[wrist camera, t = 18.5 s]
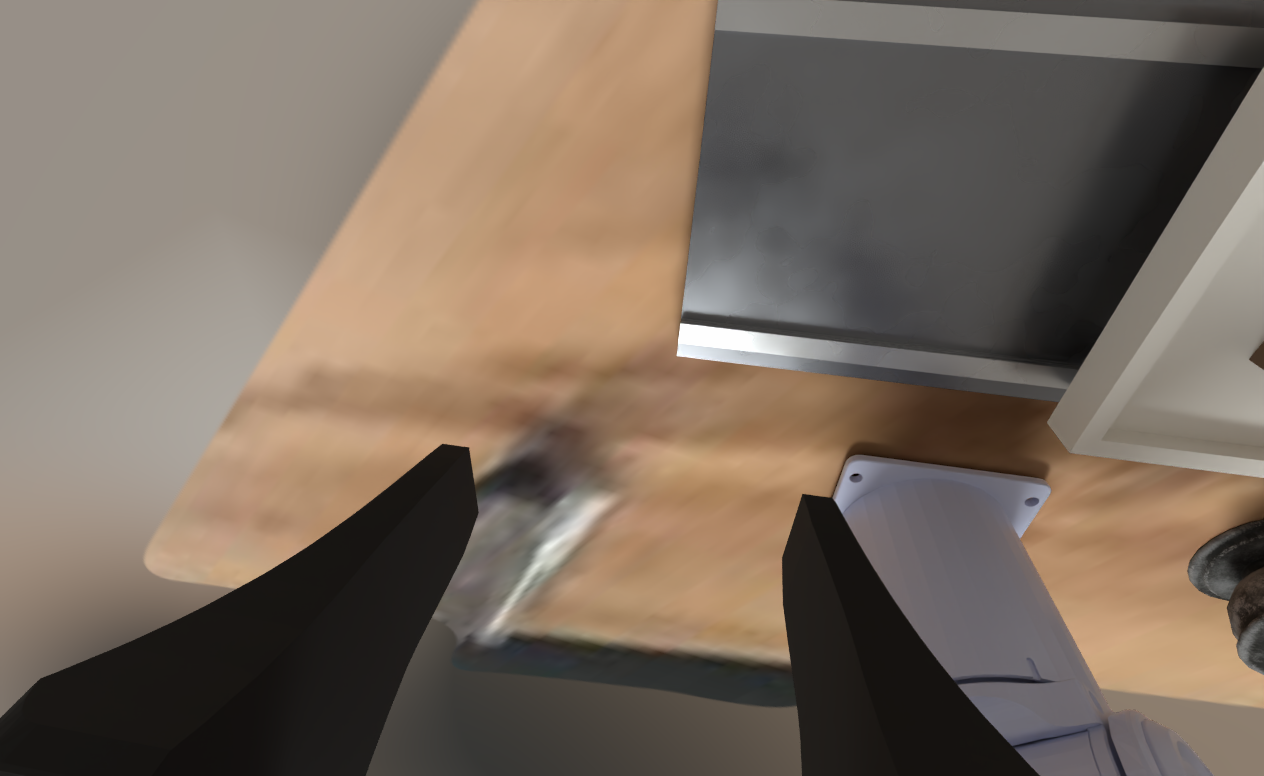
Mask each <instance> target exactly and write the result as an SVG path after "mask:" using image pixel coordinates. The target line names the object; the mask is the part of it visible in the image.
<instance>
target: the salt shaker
mask: <svg viewBox="0 0 1264 776" xmlns="http://www.w3.org/2000/svg"><path fill="white" fill-rule="evenodd" d="M1188 575H1189V579H1190V581H1191V583H1192V584H1193V585H1194V586H1195V587H1196V588H1197V589H1198V590H1199V591H1201V592H1203V593H1204V594H1206V595H1208V596H1210V597H1214V598H1218V599H1223V600H1227V601H1229V603H1228V606H1227V610H1228V615H1229V619H1230V624H1231V628H1232V632H1233V635H1234V636H1235V637H1236V639H1237V640H1238V642H1237V645H1236V647H1237V651H1238V656H1239V657H1240V659H1241V660H1242V661H1243V662H1244V663H1245V664H1246V665H1247V666H1248V667H1249V668H1251V669H1253V670H1255V671H1257V672H1259V673H1261V674H1263V675H1264V520H1260V521H1255V522H1251V523H1247V524H1245V525H1242V526H1239V527H1237V528H1234V529H1231V530H1228V531H1226V532H1225V533H1223V534H1221V535H1219V536H1217V537H1215V538H1214V539H1212V540H1210V541H1209V542H1208V543H1206V544H1205V545H1204V546H1203V547H1202V548H1200V549H1199V550H1198V551H1197V552H1196V554H1195V555H1194V556H1193V558H1192V559H1191V560H1190V563H1189V567H1188Z"/></svg>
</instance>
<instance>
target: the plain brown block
mask: <svg viewBox="0 0 1264 776" xmlns="http://www.w3.org/2000/svg"><path fill="white" fill-rule="evenodd" d="M1249 360H1250V361H1251V362H1253V363H1254V364H1256V365H1257V366H1259V367H1260V368H1262V369H1263V370H1264V341H1263V343H1262V344H1261V345H1260V346H1259V348H1258V349H1257V350H1256V351H1255V353H1254V354H1253V355H1252V356H1251V357H1250V359H1249Z"/></svg>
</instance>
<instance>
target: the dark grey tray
mask: <svg viewBox="0 0 1264 776" xmlns="http://www.w3.org/2000/svg"><path fill="white" fill-rule="evenodd" d="M1263 67H1264V0H718V6H717V14H716V23H715V34H714V42H713V51H712V59H711V68H710V76H709V85H708V94H707V102H706V111H705V119H704V128H703V136H702V145H701V154H700V162H699V171H698V179H697V188H696V196H695V205H694V214H693V222H692V231H691V239H690V248H689V256H688V265H687V274H686V282H685V291H684V299H683V308H682V316H681V323H680V332H679V340H678V351H677V356H681V357H689V358H697V359H706V360H714V361H722V362H730V363H739V364H747V365H755V366H764V367H772V368H780V369H788V370H797V371H805V372H813V373H822V374H830V375H838V376H846V377H855V378H863V379H871V380H880V381H888V382H896V383H904V384H913V385H921V386H929V387H938V388H946V389H954V390H962V391H971V392H979V393H987V394H996V395H1004V396H1012V397H1020V398H1029V399H1037V400H1045V401H1053V402H1060V400H1061V398H1062V397H1063V395H1064V394H1065V392H1066V390H1067V389H1068V387H1069V385H1070V384H1071V382H1072V380H1073V379H1074V377H1075V375H1076V374H1077V372H1078V371H1079V369H1080V367H1081V366H1082V364H1083V362H1084V361H1085V359H1086V357H1087V356H1088V354H1089V353H1090V351H1091V349H1092V348H1093V346H1094V344H1095V343H1096V341H1097V339H1098V338H1099V336H1100V334H1101V333H1102V331H1103V330H1104V328H1105V326H1106V325H1107V323H1108V321H1109V320H1110V318H1111V316H1112V315H1113V313H1114V311H1115V310H1116V308H1117V307H1118V305H1119V303H1120V302H1121V300H1122V298H1123V297H1124V295H1125V293H1126V292H1127V290H1128V289H1129V287H1130V285H1131V284H1132V282H1133V280H1134V279H1135V277H1136V275H1137V274H1138V272H1139V270H1140V269H1141V267H1142V266H1143V264H1144V262H1145V261H1146V259H1147V257H1148V256H1149V254H1150V252H1151V251H1152V249H1153V247H1154V246H1155V244H1156V243H1157V241H1158V239H1159V238H1160V236H1161V234H1162V233H1163V231H1164V229H1165V228H1166V226H1167V225H1168V223H1169V221H1170V220H1171V218H1172V216H1173V215H1174V213H1175V211H1176V210H1177V208H1178V206H1179V205H1180V203H1181V202H1182V200H1183V198H1184V197H1185V195H1186V193H1187V192H1188V190H1189V188H1190V187H1191V185H1192V183H1193V182H1194V180H1195V179H1196V177H1197V175H1198V174H1199V172H1200V170H1201V169H1202V167H1203V165H1204V164H1205V162H1206V161H1207V159H1208V157H1209V156H1210V154H1211V152H1212V151H1213V149H1214V147H1215V146H1216V144H1217V142H1218V141H1219V139H1220V138H1221V136H1222V134H1223V133H1224V131H1225V129H1226V128H1227V126H1228V124H1229V123H1230V121H1231V119H1232V118H1233V116H1234V115H1235V113H1236V111H1237V110H1238V108H1239V106H1240V105H1241V103H1242V101H1243V100H1244V98H1245V97H1246V95H1247V93H1248V92H1249V90H1250V88H1251V87H1252V85H1253V83H1254V82H1255V80H1256V78H1257V77H1258V75H1259V74H1260V72H1261V70H1262V69H1263Z"/></svg>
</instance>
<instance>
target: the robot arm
mask: <svg viewBox="0 0 1264 776" xmlns="http://www.w3.org/2000/svg"><path fill="white" fill-rule="evenodd" d="M857 473H858V474H859V475H857V476H851V475H852V474H857ZM1050 493H1051V488H1050V486H1049V484H1048V483H1047V482H1046V481H1045V480H1044V479H1040V478H1034V477H1026V476H1018V475H1011V474H1003V473H996V472H988V471H981V470H973V469H965V468H958V467H950V466H943V465H935V464H928V463H920V462H912V461H905V460H897V459H890V458H882V457H875V456H867V455H854V456H851V457H850V458H848V459H847V461H846V462H845V465H844V468H843V471H842V473H841V476H840V479H839V481H838V484H837V487H836V490H835V492H834V495H833V498H828V497H821V496H813V495H806V494H802V498H801V501H800V504H799V507H798V510H797V513H796V516H795V519H794V523H793V526H792V529H791V532H790V535H789V538H788V541H787V544H786V547H785V551H784V554H783V557H782V582H783V607H784V615H785V623H786V630H787V638H788V645H789V652H790V659H791V666H792V674H793V681H794V688H795V695H796V702H797V709H798V718H799V728H800V740H801V760H802V776H1213V774H1212V773H1211V772H1210V770H1209V769H1208V768H1207V767H1206V765H1205V764H1204V763H1203V761H1202V760H1201V759H1200V758H1199V757H1198V755H1197V754H1196V753H1195V752H1194V751H1193V749H1192V748H1191V747H1190V746H1189V745H1188V744H1187V743H1186V742H1185V741H1184V739H1183V738H1182V737H1180V735H1178V734H1177V733H1176V732H1175V731H1173V730H1172V729H1170V728H1168V727H1166V726H1164V725H1162V724H1159V723H1157V722H1155V721H1153V720H1150V719H1148V718H1147V717H1146V716H1145V715H1144V714H1142V713H1140V712H1139V711H1136V710H1131V709H1129V710H1123V711H1120V712H1116V713H1114V712H1113V711H1112V710H1111V708H1110V707H1109V705H1108V703H1107V701H1106V699H1105V697H1104V695H1103V693H1102V692H1101V690H1100V688H1099V686H1098V684H1097V682H1096V680H1095V679H1094V677H1093V675H1092V673H1091V671H1090V669H1089V667H1088V665H1087V664H1086V662H1085V660H1084V658H1083V656H1082V654H1081V652H1080V650H1079V649H1078V647H1077V645H1076V643H1075V641H1074V639H1073V637H1072V635H1071V634H1070V632H1069V630H1068V628H1067V626H1066V624H1065V622H1064V621H1063V619H1062V617H1061V615H1060V613H1059V611H1058V609H1057V607H1056V606H1055V604H1054V602H1053V600H1052V598H1051V596H1050V594H1049V592H1048V591H1047V589H1046V587H1045V585H1044V583H1043V581H1042V579H1041V577H1040V576H1039V574H1038V572H1037V570H1036V568H1035V566H1034V564H1033V563H1032V561H1031V559H1030V557H1029V555H1028V553H1027V551H1026V549H1025V548H1024V546H1023V544H1022V542H1021V540H1020V538H1021V536H1022V535H1023V533H1024V532H1025V530H1026V529H1027V527H1028V526H1029V525H1030V523H1031V522H1032V520H1033V519H1034V517H1035V516H1036V514H1037V513H1038V511H1039V510H1040V508H1041V507H1042V505H1043V504H1044V502H1045V501H1046V499H1047V498H1048V496H1049V495H1050ZM1032 497H1033V498H1032ZM1028 498H1031V499H1028ZM478 513H479V512H478V505H477V498H476V492H475V485H474V478H473V471H472V465H471V458H470V451H469V448H468V447H461V446H454V445H447V444H442V445H440V446H439V447H438V448H436V449H435V450H434V451H433V452H431V453H430V454H429V455H428V456H426V457H425V458H424V459H423V460H421V461H420V462H419V463H418V464H417V465H415V466H414V467H413V468H412V469H410V470H409V471H408V472H407V473H406V474H404V475H403V476H402V477H401V478H399V479H398V480H397V481H396V482H394V483H393V484H392V485H391V486H389V487H388V488H387V489H386V490H384V491H383V492H382V493H381V494H379V495H378V496H377V497H375V498H374V499H373V500H372V501H370V502H369V503H368V504H366V505H365V506H364V507H363V508H361V509H360V510H359V511H357V512H356V513H355V514H353V515H352V516H351V517H349V518H348V519H346V520H345V521H344V522H342V523H341V524H339V525H338V526H337V527H335V528H334V529H332V530H331V531H330V532H328V533H327V534H326V535H324V536H323V537H321V538H320V539H318V540H317V541H316V542H314V543H313V544H311V545H310V546H308V547H307V548H305V549H303V550H302V551H300V552H299V553H297V554H296V555H294V556H293V557H291V558H289V559H288V560H286V561H284V562H283V563H281V564H279V565H278V566H276V567H275V568H273V569H271V570H270V571H268V572H266V573H265V574H263V575H261V576H259V577H258V578H256V579H254V580H252V581H250V582H249V583H247V584H245V585H243V586H241V587H239V588H237V589H236V590H234V591H232V592H230V593H228V594H227V595H225V596H223V597H221V598H219V599H217V600H216V601H214V602H212V603H210V604H208V605H206V606H204V607H202V608H200V609H199V610H196V611H194V612H193V613H190V614H188V615H186V616H184V617H182V618H180V619H178V620H176V621H174V622H172V623H170V624H168V625H165V626H163V627H161V628H159V629H157V630H155V631H152V632H150V633H148V634H146V635H144V636H142V637H140V638H137V639H135V640H133V641H131V642H129V643H126V644H124V645H121V646H119V647H117V648H114V649H112V650H110V651H107V652H105V653H102V654H100V655H98V656H95V657H93V658H90V659H88V660H86V661H83V662H80V663H78V664H76V665H73V666H71V667H69V668H66V669H64V670H61V671H59V672H56V673H54V674H51V675H49V676H46V677H43V678H41V679H40V680H39V681H37V683H35V684H34V685H33V686H32V687H31V688H30V689H29V690H28V691H27V692H26V693H25V694H24V695H23V696H22V697H21V698H20V699H19V700H18V701H17V702H16V703H15V704H14V705H13V706H12V707H11V708H10V709H9V710H8V711H7V712H6V713H5V714H4V715H3V716H2V717H1V718H0V776H366V773H367V770H368V767H369V764H370V762H371V759H372V756H373V754H374V751H375V748H376V746H377V743H378V740H379V738H380V735H381V732H382V730H383V727H384V724H385V722H386V719H387V716H388V714H389V711H390V709H391V706H392V704H393V701H394V698H395V696H396V694H397V691H398V688H399V686H400V683H401V681H402V678H403V676H404V673H405V671H406V668H407V666H408V664H409V662H410V659H411V658H412V655H413V653H414V651H415V649H416V647H417V645H418V643H419V641H420V639H421V637H422V635H423V633H424V631H425V629H426V627H427V625H428V623H429V621H430V620H431V618H432V616H433V614H434V612H435V610H436V608H437V606H438V604H439V602H440V600H441V598H442V596H443V594H444V592H445V590H446V588H447V586H448V584H449V582H450V580H451V578H452V576H453V574H454V573H455V571H456V569H457V567H458V565H459V563H460V560H461V558H462V556H463V554H464V552H465V549H466V546H467V544H468V541H469V538H470V536H471V533H472V530H473V527H474V524H475V521H476V518H477V516H478Z"/></svg>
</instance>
